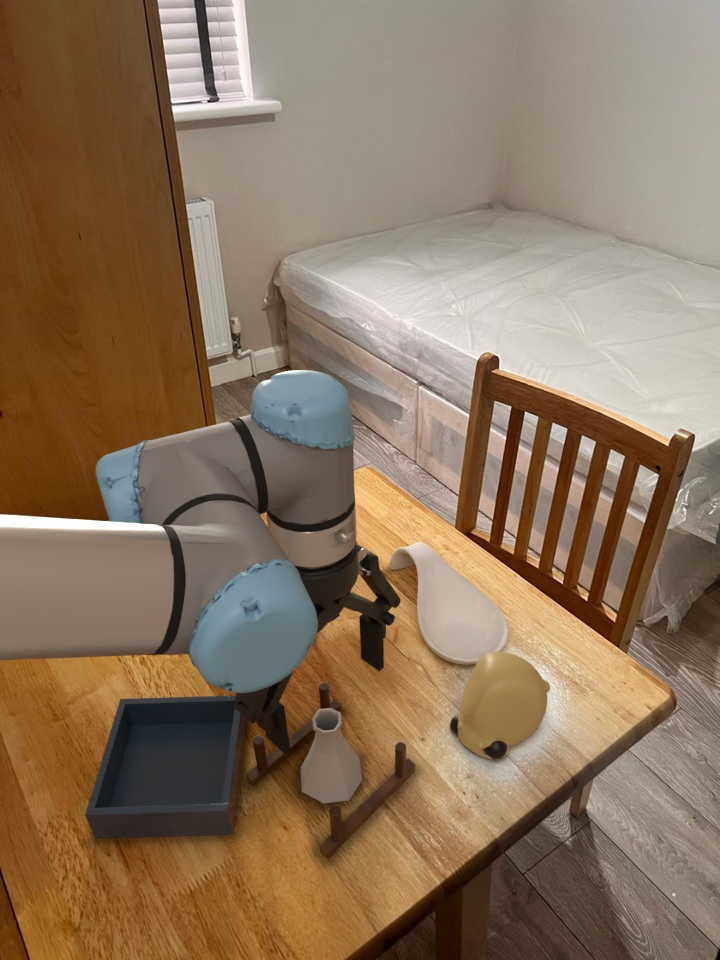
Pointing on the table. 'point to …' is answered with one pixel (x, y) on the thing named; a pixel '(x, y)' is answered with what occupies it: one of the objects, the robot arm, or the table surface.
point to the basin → (169, 769)
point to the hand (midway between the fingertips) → (327, 701)
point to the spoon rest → (452, 608)
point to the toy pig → (500, 705)
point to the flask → (330, 761)
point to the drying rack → (338, 829)
